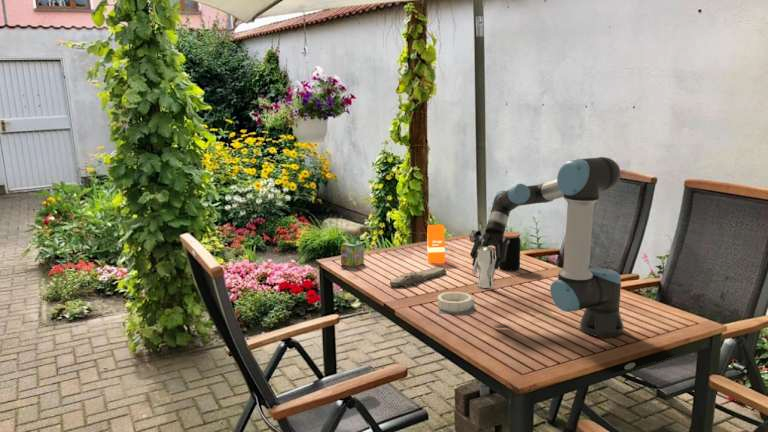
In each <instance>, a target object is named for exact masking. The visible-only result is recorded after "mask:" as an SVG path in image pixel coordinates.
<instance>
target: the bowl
mask: <svg viewBox="0 0 768 432" xmlns="http://www.w3.org/2000/svg"><path fill="white" fill-rule="evenodd" d="M472 300H473V297H472V295H471V294H469V293H467V292H461V291H448V292H447V291H446V292H442V293H439V294H438V295H437V309H439V310H440V309H441V310H443V311H447V312H463V311H467V310H469V309H471V307H472Z"/></svg>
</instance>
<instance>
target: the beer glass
mask: <svg viewBox="0 0 768 432" xmlns="http://www.w3.org/2000/svg"><path fill="white" fill-rule="evenodd" d="M477 251H478V253H477V264H478V269H477V272H478V276H479V277H478V282H477V283H478V284H477V286H478V287H480V288H483V289H490V288H493V287H494V286H495V285H494V277H491V275H490V272H491V268H492V265H493V263H494V260H496V253H495V247H493V246H488V247H481V246H479V248H478V250H477Z"/></svg>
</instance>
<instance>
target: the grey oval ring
mask: <svg viewBox="0 0 768 432" xmlns="http://www.w3.org/2000/svg"><path fill="white" fill-rule="evenodd" d="M438 311H439V312H438V314H439V315H446V314H447V315H474V313H475V299H472V307H471V309H469V310H467V311H463V312H447V311H443V310H441V309H439V310H438Z"/></svg>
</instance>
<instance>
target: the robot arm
mask: <svg viewBox="0 0 768 432" xmlns="http://www.w3.org/2000/svg"><path fill="white" fill-rule="evenodd" d="M620 178H621V169H620V165H619V164H618V162H617V161H615V160H614V159H612V158H609V157H607V156H606V157H604V156H599V157H589V158H587V157H586V158H576V159H572V160H568V161H566V162H565V163H564V164H563V165H562V166H561V167H560V168H559V170H558V173H557V177H556V178H555V179H553V180H550V181H547V182H542V183H540V184H534V185H526V184H524V183H517V184H515V185H513V186H511V187H510V188H509V189H507V190H499V191H497V192H496V194H495V196H494V198H493V202H492V203H493V204H492V206H491V210H490V214H489V216H488V219H487V223H486V227H485V231H484V233H483V235H479V234H477V235H475V241H474V244H473V247H472V249H471V251H470V253H469V255H470V258H471V259H473V260H472V263H471V264H472V271H471V273H472V274H473V276H477V273H478V264H477V253H478V248H479V247H494V249H495V260H494V263H493V265H492V268H491V272H490V275H491V277H493V278H495V277H494V276H495V273H496V270H499V269H500V268H499V264H500V262H505V260H506V253H507V247H508V244H509V243H510V241H509V238H504V237H503V235H504V232H506V227H507V223H508V220H509V218H510V217H509V216H510V215H511V214H510V213H511V211H513V210H515V209H516V208H518V207H520V206H527V205H533V204H535V205H536V204H544V203H545V204H546V203H551V202H553V201H554V200H557V199H562V198H563V199H564V200H565V201H566V203H567V205H566V206H567V208H566V221H565V224H566V225H565V236H564V237H565V239H564V253H563V265H562V266H563V267H562V268H561V269H560V270H558V274H557V275H558V276H557V280H554V281H553V282H552V283H551V285H550V289H549V291H550V296H551V300H552V301H553V302H554V305H555V306H556V307H557V308H558V309H560V310H561V311H562V312H564V313H565V312H566V313H570V312H577V311H580V310H584V312H583V314H582V317H581V319H580V322H579V323H580V324H579V329H580V330H582V333H584V332H585V333H584V334H586V333H587V334H586V335H589V334H591V335H590V336H592V335H596V336H602V337H601V338H604V337H611V338H616V337H615V336H617V337H620V336H622V335H623V334H624V331H625V330H624V323H623V320H622V316H621V313H620V305H621V303H620V302H621V286H622V283H621V280H622V279H621V274H620V273H619V272H618V271H615V270H612V269H608V268H604V267H590V259H591V246H592V233H593V223H594V221H593V220H594V209H595V208H594V207H595V205H594V204H596V203H597V202H598V201H599V200H600V193H601V192H604V191H609V190H611V189H613V188H614V187H615V186H617V185H618V183H619V181H620ZM502 241H503V248H502V254H501V257H500V253H499V243H501V242H502ZM481 242H482V243H481ZM622 333H623V334H622ZM621 334H622V335H621ZM619 335H620V336H619ZM596 336H595V337H596Z"/></svg>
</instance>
